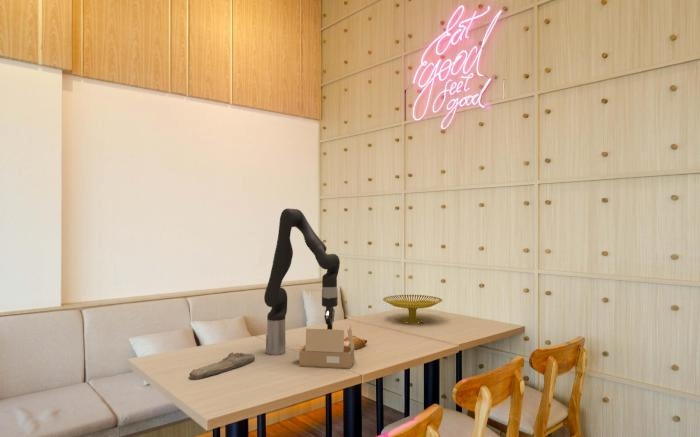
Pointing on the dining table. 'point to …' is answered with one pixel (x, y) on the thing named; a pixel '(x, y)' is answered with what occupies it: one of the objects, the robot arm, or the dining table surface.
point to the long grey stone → (222, 365)
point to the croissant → (357, 342)
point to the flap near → (324, 340)
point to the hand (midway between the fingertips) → (329, 332)
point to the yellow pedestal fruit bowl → (412, 305)
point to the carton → (326, 357)
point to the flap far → (350, 338)
